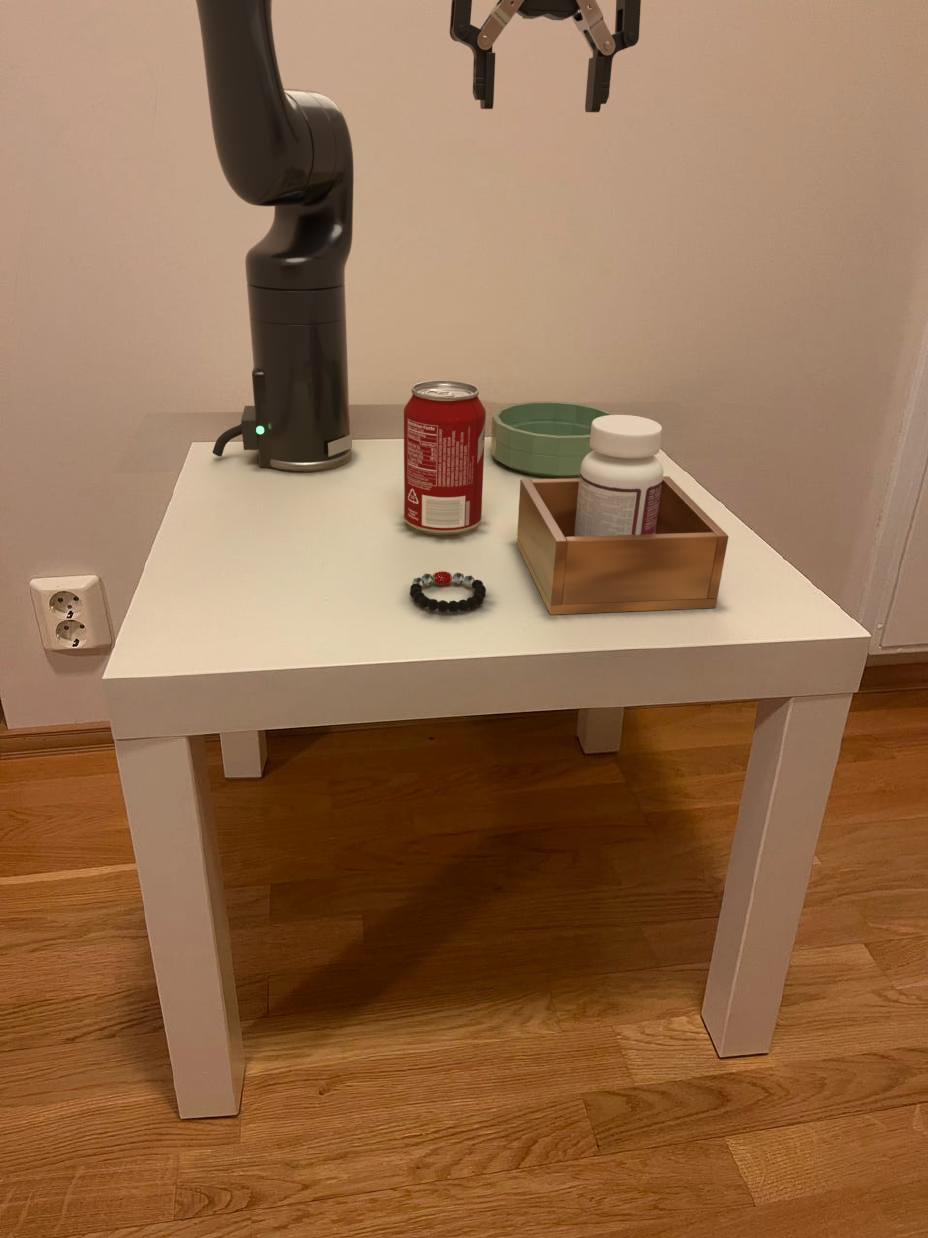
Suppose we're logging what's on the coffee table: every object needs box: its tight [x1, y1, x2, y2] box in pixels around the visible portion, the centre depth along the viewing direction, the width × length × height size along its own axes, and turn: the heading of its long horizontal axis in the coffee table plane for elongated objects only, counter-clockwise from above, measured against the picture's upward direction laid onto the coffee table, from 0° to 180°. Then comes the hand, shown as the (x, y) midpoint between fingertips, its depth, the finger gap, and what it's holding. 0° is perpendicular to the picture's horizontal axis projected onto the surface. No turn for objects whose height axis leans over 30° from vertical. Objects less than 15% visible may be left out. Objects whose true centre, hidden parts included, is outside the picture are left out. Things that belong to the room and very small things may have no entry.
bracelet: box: [409, 571, 487, 613], centre depth 67 cm, size 6×6×1 cm
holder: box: [516, 475, 729, 616], centre depth 70 cm, size 13×13×6 cm
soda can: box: [403, 379, 487, 537], centre depth 77 cm, size 7×7×12 cm
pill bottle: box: [574, 414, 664, 537], centre depth 69 cm, size 6×6×11 cm
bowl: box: [490, 400, 616, 479], centre depth 95 cm, size 13×13×4 cm
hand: (539, 110), depth 72 cm, fingers open, 8 cm apart
